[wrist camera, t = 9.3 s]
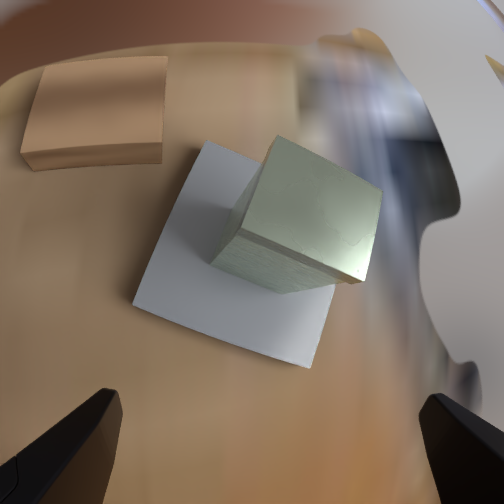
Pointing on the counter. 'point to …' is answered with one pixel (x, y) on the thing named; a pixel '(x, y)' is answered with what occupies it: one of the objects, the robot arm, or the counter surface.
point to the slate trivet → (220, 282)
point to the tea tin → (300, 223)
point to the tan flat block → (97, 114)
